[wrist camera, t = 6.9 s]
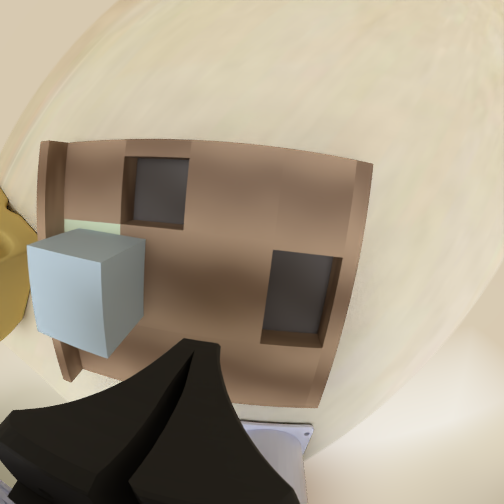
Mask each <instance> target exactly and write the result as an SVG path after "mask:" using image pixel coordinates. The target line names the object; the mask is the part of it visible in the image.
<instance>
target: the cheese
mask: <svg viewBox="0 0 504 504" xmlns="http://www.w3.org/2000/svg"><path fill="white" fill-rule="evenodd" d="M7 204H8V199H7V198H6V196H5V195H4V193H3V191H2V190H1V189H0V341H1V340H3V339H4V338H5V337H6V336H7V335H8V334H9V333H10V332H11V331H12V330H13V329H14V328H15V327H16V326H17V325H18V323H19V322H20V321H21V320H22V318H23V315H24V312H25V308H26V304H27V299H28V295H29V291H30V279H29V270H28V258H27V245H28V244H31V243H34V242H37V241H38V237H37V234H36V233H35V231H34V230H33V229H32V228H31V227H30V226H29V225H28V224H27V223H26V222H25V220H24V219H23V218H22V217H21V216H20V215H17V214H15V213H13V212H10V211H9V210H7Z"/></svg>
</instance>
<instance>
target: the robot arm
mask: <svg viewBox="0 0 504 504" xmlns="http://www.w3.org/2000/svg"><path fill="white" fill-rule="evenodd" d="M220 352H221V346H220V345H219V344H218V343H213V342H206V341H199V340H193V339H187V338H183V339H182V340H181V341H179V342H178V343H177V344H176V345H174V346H173V347H172V348H171V349H169V350H168V351H167V352H166V353H164V354H163V355H162V356H160V357H159V358H158V359H156V360H155V361H154V362H152V363H151V364H150V365H148V366H147V367H145V368H144V369H142V370H141V371H139V372H138V373H136V374H135V375H133V376H131V377H130V378H128V379H126V380H124V381H123V382H121V383H119V384H117V385H115V386H113V387H110V388H108V389H106V390H104V391H101V392H99V393H96V394H93V395H90V396H88V397H85V398H82V399H79V400H76V401H72V402H68V403H64V404H60V405H55V406H50V407H44V408H36V409H25V410H13V411H12V412H11V413H10V414H9V415H8V416H7V417H6V418H5V420H4V421H3V422H2V423H1V424H0V460H1V462H2V463H3V464H4V465H5V467H6V468H7V469H8V470H9V471H10V472H11V474H13V476H14V477H15V478H16V479H17V480H18V481H17V482H16V484H15V485H14V487H13V488H10V487H9V486H8V485H7V484H5V483H4V482H3V481H2V480H0V504H308V499H307V489H306V480H305V472H304V463H303V454H304V452H305V449H306V447H307V445H308V443H309V440H310V438H311V435H312V433H313V431H314V428H313V426H312V425H297V424H272V423H257V422H246V421H240V420H239V418H238V416H237V414H236V412H235V410H234V407H233V405H232V403H231V400H230V398H229V395H228V392H227V389H226V386H225V383H224V379H223V375H222V371H221V365H220Z"/></svg>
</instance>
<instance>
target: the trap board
mask: <svg viewBox="0 0 504 504" xmlns="http://www.w3.org/2000/svg"><path fill="white" fill-rule="evenodd" d="M372 172H373V164H371V163H367V162H362V161H357V160H353V159H348V158H342V157H337V156H332V155H326V154H320V153H314V152H308V151H302V150H295V149H288V148H280V147H272V146H263V145H254V144H244V143H233V142H219V141H203V140H178V139H125V140H101V141H85V142H73V143H65V142H57V141H42V142H41V145H40V154H39V165H38V180H37V237H38V241H40V240H43V239H46V238H49V237H52V236H55V235H58V234H61V233H64V232H68V231H71V230H74V229H77V228H82V229H88V230H94V231H100V232H106V233H112V234H117V235H123V236H129V237H135V238H141V239H146V243H145V261H144V299H143V315H144V316H143V317H142V318H141V320H140V321H139V322H138V323H137V324H136V325H135V327H134V328H133V329H132V330H131V331H130V333H129V334H128V335H127V336H126V337H125V338H124V340H123V341H122V342H121V343H120V344H119V346H118V347H117V348H116V349H115V350H114V352H113V353H112V354H111V355H110V357H109V358H108V359H107V358H104V357H101V356H98V355H96V354H93V353H90V352H87V351H85V350H82V349H79V348H77V347H74V346H72V345H69V344H67V343H64V342H62V341H59V340H57V339H54V338H52V340H53V344H54V348H55V352H56V355H57V359H58V362H59V366H60V369H61V372H62V376H63V379H64V380H66V381H69V382H72V381H73V380H74V379H75V378H76V376H77V375H78V374H79V373H80V372H81V370H82V369H85V370H88V371H91V372H94V373H97V374H100V375H104V376H107V377H110V378H114V379H117V380H121V381H124V380H126V379H128V378H130V377H131V376H133V375H135V374H136V373H138V372H139V371H141V370H142V369H144V368H145V367H147V366H148V365H150V364H151V363H152V362H154V361H155V360H156V359H158V358H159V357H160V356H162V355H163V354H164V353H166V352H167V351H168V350H169V349H171V348H172V347H173V346H174V345H176V344H177V343H178V342H179V341H181V340H182V339H183V338H187V339H193V340H199V341H206V342H213V343H218V344H219V345H220V346H221V352H220V365H221V371H222V375H223V379H224V383H225V386H226V389H227V392H228V395H229V398H230V400H231V403H239V404H249V405H260V406H274V407H295V408H318V405H319V403H320V400H321V397H322V394H323V391H324V388H325V385H326V382H327V379H328V376H329V373H330V370H331V367H332V364H333V361H334V357H335V354H336V351H337V347H338V344H339V340H340V337H341V333H342V329H343V326H344V322H345V318H346V314H347V310H348V306H349V302H350V298H351V294H352V290H353V285H354V281H355V276H356V271H357V267H358V262H359V257H360V251H361V246H362V241H363V235H364V229H365V223H366V217H367V210H368V203H369V196H370V188H371V180H372Z"/></svg>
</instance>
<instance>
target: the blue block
mask: <svg viewBox="0 0 504 504" xmlns="http://www.w3.org/2000/svg"><path fill="white" fill-rule="evenodd" d="M145 243H146V239H141V238H135V237H129V236H123V235H117V234H112V233H106V232H100V231H94V230H88V229H82V228H77V229H74V230H71V231H68V232H64V233H61V234H58V235H55V236H52V237H49V238H46V239H43V240H40V241H37V242H34V243H31V244H28V245H27V258H28V270H29V279H30V288H31V295H32V302H33V308H34V314H35V319H36V324H37V329H38V331H39V332H41V333H43V334H45V335H48V336H50V337H52V338H54V339H57V340H59V341H62V342H64V343H67V344H69V345H72V346H74V347H77V348H79V349H82V350H85V351H87V352H90V353H93V354H96V355H98V356H101V357H104V358H107V359H108V358H109V357H110V355H111V354H112V353H113V352H114V350H115V349H116V348H117V347H118V346H119V344H120V343H121V342H122V341H123V340H124V338H125V337H126V336H127V335H128V334H129V333H130V331H131V330H132V329H133V328H134V327H135V325H136V324H137V323H138V322H139V321H140V320H141V318H142V317H143V316H144V315H143V299H144V261H145Z"/></svg>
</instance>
